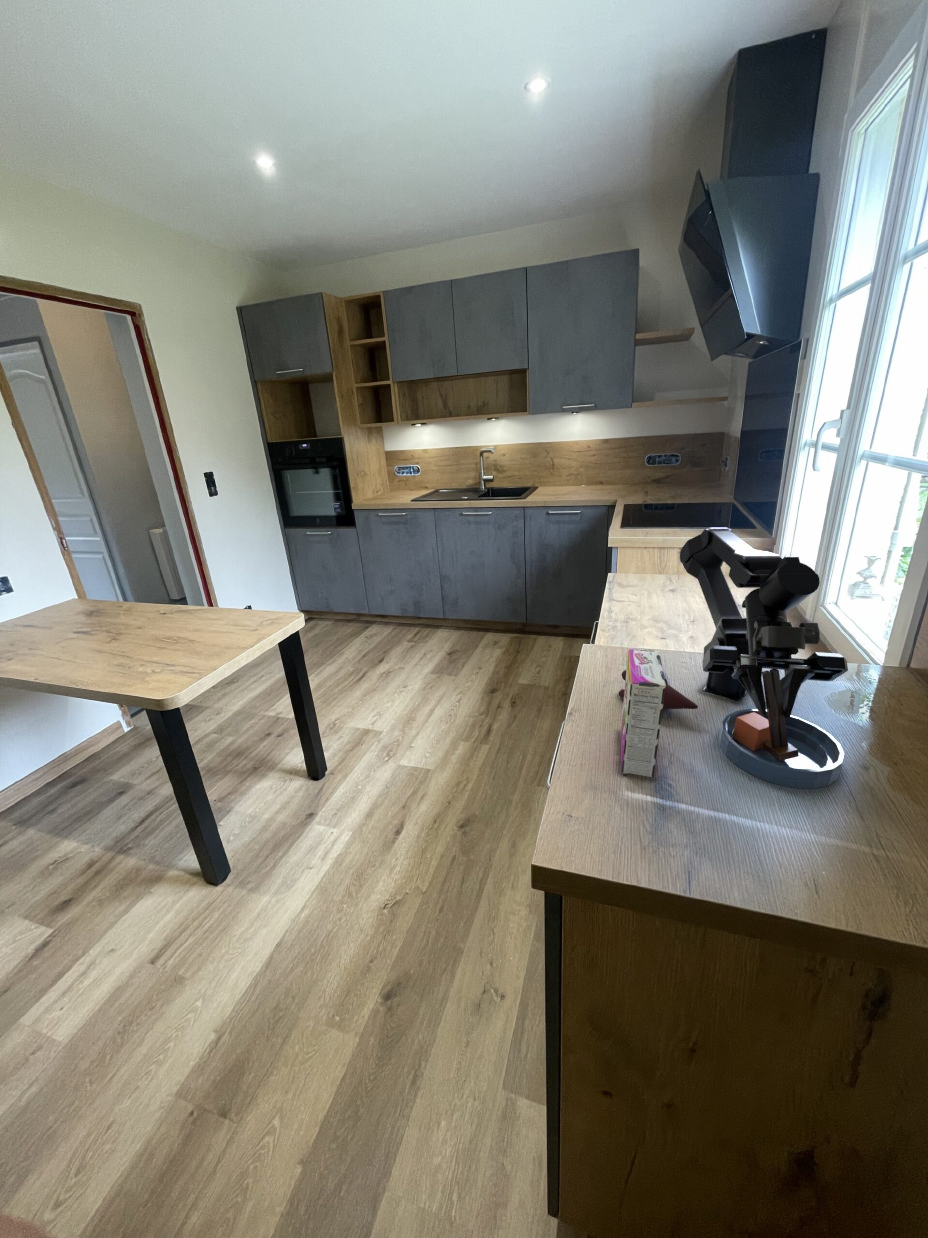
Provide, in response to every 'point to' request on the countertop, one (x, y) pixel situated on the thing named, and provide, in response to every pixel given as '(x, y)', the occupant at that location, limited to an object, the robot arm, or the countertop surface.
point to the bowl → (806, 771)
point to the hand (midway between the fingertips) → (775, 716)
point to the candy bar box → (642, 712)
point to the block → (752, 730)
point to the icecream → (669, 697)
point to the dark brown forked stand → (776, 718)
